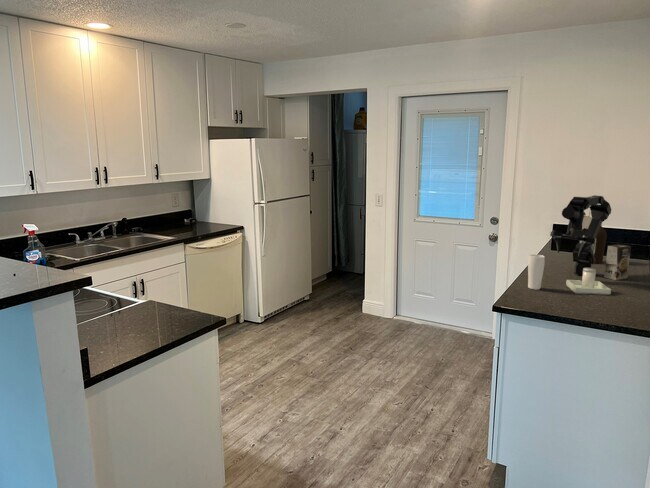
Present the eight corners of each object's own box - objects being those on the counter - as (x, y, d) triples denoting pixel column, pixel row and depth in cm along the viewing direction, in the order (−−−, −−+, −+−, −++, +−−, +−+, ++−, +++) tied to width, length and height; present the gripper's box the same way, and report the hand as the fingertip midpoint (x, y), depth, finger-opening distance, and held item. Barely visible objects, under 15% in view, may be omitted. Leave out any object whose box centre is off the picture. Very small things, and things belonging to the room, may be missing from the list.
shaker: (588, 286, 225) (590, 267, 223) (596, 289, 220) (598, 269, 218) (578, 287, 224) (580, 268, 222) (587, 290, 219) (589, 270, 217)
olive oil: (591, 259, 285) (595, 216, 281) (608, 263, 276) (613, 218, 271) (577, 261, 281) (582, 217, 276) (594, 264, 271) (599, 219, 267)
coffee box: (616, 280, 239) (620, 247, 236) (603, 277, 244) (607, 245, 241) (627, 278, 243) (631, 245, 240) (615, 275, 249) (618, 243, 246)
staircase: (599, 253, 306) (604, 211, 301) (578, 251, 311) (582, 210, 307) (599, 250, 312) (604, 210, 308) (579, 249, 318) (583, 209, 313)
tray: (598, 286, 228) (599, 281, 227) (610, 295, 214) (610, 289, 214) (566, 285, 230) (566, 279, 230) (575, 293, 217) (576, 287, 216)
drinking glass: (541, 287, 226) (544, 254, 224) (542, 291, 220) (545, 257, 217) (525, 285, 228) (528, 253, 226) (526, 289, 222) (529, 256, 219)
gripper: (559, 217, 231) (552, 250, 231) (602, 225, 227) (595, 258, 227) (553, 219, 241) (546, 250, 241) (594, 227, 238) (587, 259, 238)
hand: (568, 254), depth 237 cm, fingers open, 9 cm apart
